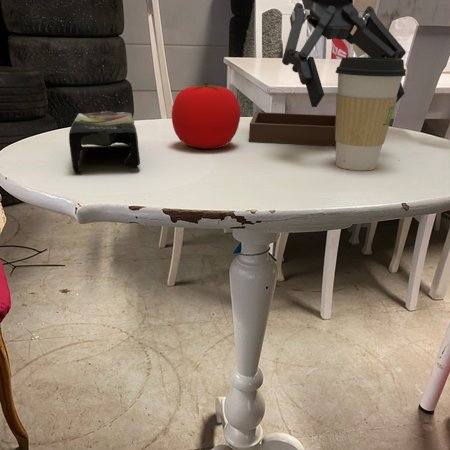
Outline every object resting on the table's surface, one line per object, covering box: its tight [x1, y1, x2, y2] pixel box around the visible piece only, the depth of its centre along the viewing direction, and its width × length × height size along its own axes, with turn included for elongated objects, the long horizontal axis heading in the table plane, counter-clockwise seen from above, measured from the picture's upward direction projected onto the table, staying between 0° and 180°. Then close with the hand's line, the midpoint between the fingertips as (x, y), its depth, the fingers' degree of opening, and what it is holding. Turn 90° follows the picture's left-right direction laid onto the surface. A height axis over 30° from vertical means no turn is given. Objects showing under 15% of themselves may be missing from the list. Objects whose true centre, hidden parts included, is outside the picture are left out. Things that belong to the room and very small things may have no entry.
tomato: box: [171, 81, 242, 150], centre depth 81 cm, size 12×12×10 cm
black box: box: [68, 110, 141, 174], centre depth 73 cm, size 20×10×6 cm, turn 12°
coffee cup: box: [335, 56, 407, 171], centre depth 70 cm, size 10×10×15 cm
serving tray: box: [248, 111, 336, 147], centre depth 92 cm, size 18×15×3 cm
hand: (358, 100), depth 70 cm, fingers open, 13 cm apart
